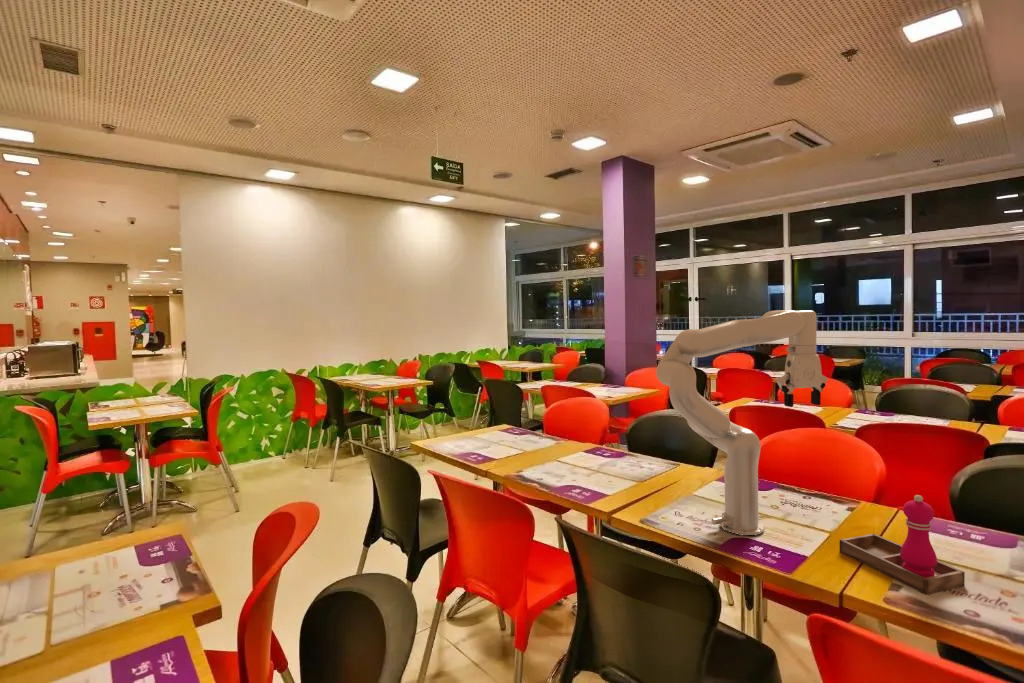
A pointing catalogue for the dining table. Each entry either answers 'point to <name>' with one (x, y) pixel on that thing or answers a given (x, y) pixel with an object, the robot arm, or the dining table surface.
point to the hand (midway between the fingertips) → (802, 405)
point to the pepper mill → (918, 538)
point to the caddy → (899, 564)
